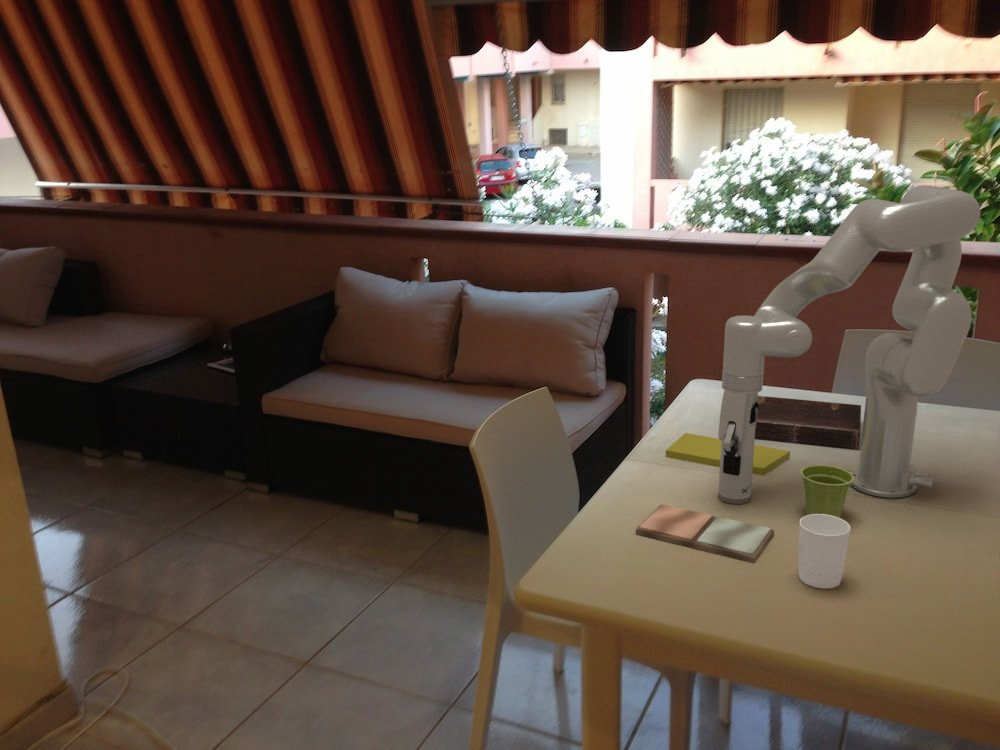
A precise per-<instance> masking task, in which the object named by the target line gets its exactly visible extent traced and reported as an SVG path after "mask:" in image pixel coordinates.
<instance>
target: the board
mask: <svg viewBox="0 0 1000 750" xmlns="http://www.w3.org/2000/svg"><path fill="white" fill-rule="evenodd" d="M635 535H638V536H642V537H646V538H650V539H654V540H658V541H663V542H666V543H671V544H675V545H678V546H683V547H688V548H692V549H696V550H700V551H704V552H708V553H712V554H715V555H720V556H725V557H727V558H733V559H736V560H741V561H745V562H748V563H753V564H754V563H755V562H756V561H757V559H758V558H759V557H760V555H761V554H762V552H763V551H764V550H765V548H766V547H767V545H768V544H769V543H770V540H772V538H773V537H774V535H775V529H771V527H766V526H762V525H758V524H753V523H748V522H743V521H739V520H736V519H731V518H726V517H720V516H714V515H712V514H707V513H703V512H699V511H694V510H690V509H685V508H679V507H678V506H677V507H676V506H673V505H668V504H659V505H658V506H657V507H656V508H655V509H654V510H653V512H651V513H650V514H649V516H647V518H646V519H644V520H643V521H642V522H641V524H639V525H638V526H637V527H636V528H635Z"/></svg>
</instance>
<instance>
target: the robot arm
mask: <svg viewBox="0 0 1000 750" xmlns="http://www.w3.org/2000/svg"><path fill="white" fill-rule="evenodd" d="M980 218H981V207H980V205H979V202H978V201H977V199H976V198H975V197H974V196H973V195H972V194H970V193H968V192H966V191H963V190H960V189H959V190H957V189H953V188H946V187H941V186H935V185H926V184H924V185H916V186H914V187H912V188H910V189H908V190H907V191H906V192H905V194H904V195H903V197H902V199H901V202H900V203H899V202H895V201H894V202H893V201H890V200H884V199H877V198H868V199H865V200H863V201H861V202H859V203H858V204H856V206H855V207H853V209H851V211H850V212H848V215H847V216H846V217H845V219H843V221H842V222H841V223H840V225H839V226H838V228H836V229H835V231H834V232H833V234H832V235H831V236H830V237H829V239H828V240H827V242H826V243H825V244H824V246H822V248H821V249H820V250H819V252H818V253H817V254H816V255H815V256H814V258H813V259H811V260H810V262H808V263H806V264H805V265H803V266H801V267H800V268H798V269H797V270H796V271H794V272H793V273H792V274H790V275H789V276H787V277H786V278H785V279H783V280H782V281H781V282H779V284H778V285H776V286H775V288H774V289H773V290H772V291H770V293H769V295H768V296H767V297H766V298H765V299H764V300H763V302H762V304H761V305H760V306H759V308H758V309H757V311H756V312H755V314H754V315H753V316H752V315H736V316H732V317H730V318H728V319H727V321H726V323H725V325H724V326H725V328H724V341H723V343H724V344H723V360H722V361H723V362H722V363H723V364H722V375H721V376H722V377H721V378H722V379H721V389H722V390H723V393H722V394H723V396H722V400H721V406H720V412H719V413H720V414H719V421H718V422H719V423H718V431H717V433H718V435H717V436H718V437H717V438H718V439H720V440H722V439H724V438H725V439H724V442H723V446H724V461H723V473H725V474H730V475H735V476H738V475H739V474H740V464H741V456H739V453H740V448H741V443H742V442H743V441H745V440H746V437H747V433H748V428H749V423H750V415H751V409H752V408H754V407H755V406H754V404H755V403H756V402H757V403H758V396H759V393H760V392H762V391H763V385H764V384H763V381H764V372H765V371H764V370H765V369H764V368H765V357H776V358H796V357H799V356H801V355H803V354H805V353H806V352H807V351H808V350H809V349H810V347H811V345H812V342H813V334H812V331H811V329H810V327H809V326H808V324H807V323H805V322H804V321H802V320H800V319H799V318H797V316H798V315H799V314H800V312H802V310H803V309H804V308H806V306H808V305H809V304H811V303H812V302H813V301H815V300H817V299H819V298H821V297H823V296H826V295H830V294H834V293H837V292H841V291H845V290H846V289H849V288H850V287H852V286H853V285H854V284H855V282H856V281H857V279H858V278H859V277H860V276H861V274H862V273H863V272H864V270H865V269H866V268H867V267H868V265H869V264H870V263H871V262H872V261H873V259H874V258H875V257H876V256H877V254H878V253H879V252H880V251H881V250H884V251H888V252H893V253H894V252H904V251H905V252H906V251H911V250H912V254H911V258H910V260H909V263H908V266H907V269H906V270H905V273H904V277H903V279H902V281H901V283H900V285H899V289H898V291H897V294H896V296H895V299H894V301H893V305H892V309H891V310H892V311H891V312H892V313H891V314H892V317H893V319H894V321H895V322H896V323H897V324H899V325H900V326H901V327H903V328H905V329H907V330H909V331H912V332H914V333H915V334H914V337H913V338H912V337H910V336H909V335H904V334H902V333H898V332H887V333H883V334H881V335H879V336H877V337H875V338H874V339H873V340H872V341H871V342H870V344H869V345H868V347H867V349H866V352H865V356H864V357H865V358H864V370H865V385H866V386H865V387H866V388H865V389H866V390H865V391H866V392H865V403H864V405H865V406H864V413H863V422H862V431H861V432H862V433H861V440H860V443H861V444H860V452H859V460H858V461H859V462H858V469H857V470H855V471H853V472H851V474H852V475H853V476H854V480H853V482H852V483H851V485H850V486H852V487H853V488H854V489H855V490H857V491H859V492H861V493H864V494H867V495H870V496H873V497H878V498H886V499H887V498H889V499H895V498H896V499H897V498H905V497H909V496H912V495H913V494H914V493H915V492H916V490H917V486H918V487H921V488H926V489H933V484H934V479H933V478H930V477H929V474H926V473H918V472H916V470H914V465H913V464H912V463H911V460H912V453H913V445H914V436H915V435H914V434H915V429H916V427H915V426H916V421H917V420H916V419H917V415H918V414H917V413H918V398H925V397H931V396H933V395H934V394H936V393H937V392H939V391H940V390H941V389H942V388H943V387H944V385H946V382H947V381H948V379H949V378H950V376H951V373H952V371H953V369H954V366H955V364H956V362H957V359H958V357H959V355H960V353H961V350H962V348H963V345H964V343H965V341H966V338H967V336H968V334H969V331H970V329H971V323H972V309H971V306H970V303H969V301H968V300H967V299H966V298H965V297H964V296H963V295H962V294H960V292H959V293H958V292H957V291H954V290H952V287H953V285H954V283H955V280H956V276H957V273H958V271H959V267H960V265H961V260H962V242H961V239H962V238H963V237H965V236H967V235H969V234H970V233H971V232H972V231H973V230H974V229H975V228H976V226H977V224H978V223H979V221H980ZM757 414H758V409H757V407H756V423H755V424H757ZM755 428H756V426H755ZM726 432H727V433H726ZM725 434H726V435H725ZM734 436H737V437H739V439H738V440H733V437H734ZM732 443H736V444H737V446H736V449H735V447H734V446H732V445H733V444H732Z"/></svg>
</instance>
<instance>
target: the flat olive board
mask: <svg viewBox="0 0 1000 750" xmlns="http://www.w3.org/2000/svg"><path fill="white" fill-rule="evenodd" d="M790 455H791V450H787V449H780V448H774V447H769V446H763V445H756V444H754V456H753V471H752V475H757V476H765V475H766V474H767V473H769V472H772V470H774V469H776V468H777V467H778V466H780V465H781V464H783V463H785V462H786V461H788V460H789V459H790ZM720 457H721V440H720V439H719V437H711V436H706V435H705V436H704V435H700V434H694V433H688V432H685V433H684V434H682V435H681V436H680V437H679V438H678V439H677V440H675V442H673V443H672V444H671V445H670V446H669V447H668V448H667V449H665V458H668V459H674V460H680V461H684V462H689V463H695V464H701V465H706V466H711V467H714V468H715V467H716V468H720Z"/></svg>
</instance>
